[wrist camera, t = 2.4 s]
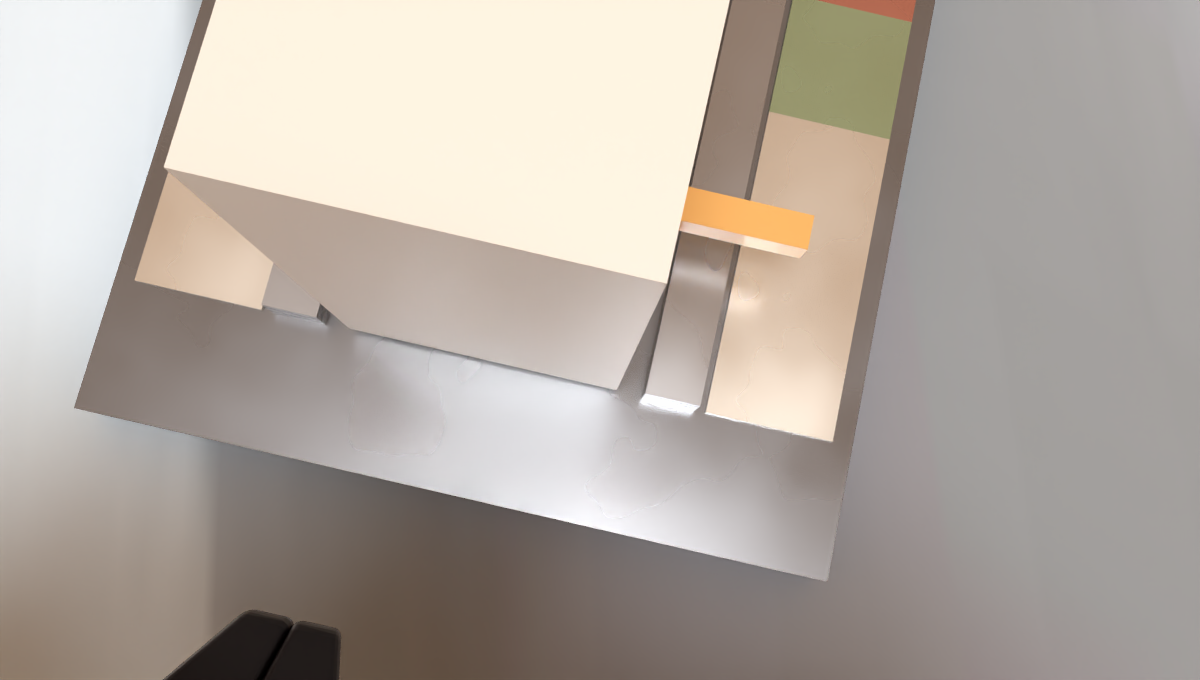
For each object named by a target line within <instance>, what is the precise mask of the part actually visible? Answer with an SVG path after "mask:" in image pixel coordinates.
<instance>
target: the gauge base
mask: <svg viewBox="0 0 1200 680" xmlns="http://www.w3.org/2000/svg"><path fill="white" fill-rule="evenodd" d="M215 2H216V0H203V1H202V4H201V7H200V10H199V14H198V17H197V20H196V23H195V26H194V29H193V33H192V36H191V39H190V42H189V45H188V49H187V52H186V55H185V58H184V61H183V64H182V68H181V71H180V74H179V77H178V80H177V83H176V87H175V90H174V93H173V96H172V99H171V102H170V106H169V109H168V112H167V115H166V118H165V121H164V125H163V128H162V131H161V134H160V137H159V140H158V144H157V147H156V150H155V153H154V156H153V159H152V163H151V166H150V169H149V172H148V175H147V178H146V182H145V185H144V188H143V191H142V194H141V197H140V201H139V204H138V207H137V210H136V213H135V216H134V220H133V223H132V226H131V229H130V232H129V235H128V239H127V242H126V245H125V248H124V251H123V254H122V258H121V261H120V264H119V267H118V270H117V274H116V277H115V280H114V283H113V286H112V289H111V293H110V296H109V299H108V302H107V305H106V308H105V312H104V315H103V318H102V321H101V324H100V327H99V331H98V334H97V337H96V340H95V343H94V346H93V350H92V353H91V356H90V359H89V362H88V365H87V369H86V372H85V375H84V378H83V381H82V384H81V388H80V391H79V394H78V397H77V400H76V403H75V407H74V408H77V409H81V410H85V411H90V412H94V413H98V414H103V415H107V416H111V417H116V418H120V419H124V420H129V421H133V422H137V423H142V424H146V425H150V426H155V427H159V428H163V429H168V430H172V431H176V432H181V433H185V434H189V435H194V436H198V437H202V438H207V439H211V440H215V441H220V442H224V443H228V444H233V445H237V446H241V447H246V448H250V449H254V450H259V451H263V452H267V453H271V454H276V455H280V456H284V457H289V458H293V459H297V460H302V461H306V462H310V463H315V464H319V465H323V466H328V467H332V468H336V469H341V470H345V471H349V472H354V473H358V474H362V475H367V476H371V477H375V478H380V479H384V480H388V481H393V482H397V483H401V484H406V485H410V486H414V487H419V488H423V489H427V490H432V491H436V492H440V493H445V494H449V495H453V496H458V497H462V498H466V499H471V500H475V501H479V502H484V503H488V504H492V505H497V506H501V507H505V508H510V509H514V510H518V511H523V512H527V513H531V514H536V515H540V516H544V517H549V518H553V519H557V520H562V521H566V522H570V523H575V524H579V525H583V526H588V527H592V528H596V529H601V530H605V531H609V532H614V533H618V534H622V535H627V536H631V537H635V538H639V539H644V540H648V541H652V542H657V543H661V544H665V545H670V546H674V547H678V548H683V549H687V550H691V551H696V552H700V553H704V554H709V555H713V556H717V557H722V558H726V559H730V560H735V561H739V562H743V563H748V564H752V565H756V566H761V567H765V568H769V569H774V570H778V571H782V572H787V573H791V574H795V575H800V576H804V577H808V578H813V579H817V580H821V581H826V582H827V581H828V575H829V570H830V565H831V559H832V554H833V549H834V543H835V538H836V532H837V527H838V522H839V516H840V511H841V505H842V500H843V495H844V489H845V484H846V478H847V473H848V468H849V462H850V457H851V451H852V446H853V441H854V435H855V430H856V424H857V419H858V414H859V408H860V403H861V397H862V392H863V387H864V381H865V376H866V370H867V365H868V360H869V354H870V349H871V343H872V338H873V333H874V327H875V322H876V317H877V311H878V306H879V300H880V295H881V290H882V284H883V279H884V273H885V268H886V263H887V257H888V252H889V246H890V241H891V236H892V230H893V225H894V219H895V214H896V209H897V203H898V198H899V192H900V187H901V182H902V176H903V171H904V165H905V160H906V155H907V149H908V144H909V138H910V133H911V128H912V122H913V117H914V112H915V106H916V101H917V95H918V90H919V85H920V79H921V74H922V68H923V63H924V58H925V52H926V47H927V41H928V36H929V31H930V25H931V20H932V14H933V9H934V4H935V0H730V1H729V6H728V10H727V15H726V19H725V24H724V28H723V33H722V37H721V42H720V46H719V51H718V55H717V60H716V64H715V69H714V73H713V78H712V82H711V87H710V91H709V96H708V101H707V105H706V110H705V114H704V119H703V123H702V128H701V132H700V137H699V141H698V146H697V150H696V155H695V159H694V164H693V168H692V173H691V177H690V182H689V187H693V188H697V189H702V190H706V191H710V192H715V193H719V194H723V195H728V196H732V197H736V198H741V199H745V200H749V201H754V202H758V203H762V204H767V205H771V206H775V207H779V208H784V209H788V210H792V211H797V212H801V213H805V214H810V215H814V221H813V226H812V231H811V236H810V241H809V246H808V250H807V251H806V252H805V253H804V254H803V255H802V256H801V257H800V258H795V257H790V256H786V255H782V254H777V253H773V252H769V251H764V250H760V249H756V248H752V247H747V246H743V245H739V244H734V243H730V242H726V241H721V240H717V239H713V238H708V237H704V236H700V235H695V234H691V233H687V232H682V231H678V236H677V240H676V245H675V249H674V254H673V258H672V263H671V267H670V272H669V276H668V281H667V284H666V287H665V289H664V291H663V293H662V295H661V297H660V299H659V301H658V303H657V306H656V308H655V310H654V312H653V314H652V316H651V318H650V320H649V323H648V325H647V327H646V329H645V331H644V333H643V335H642V337H641V340H640V342H639V344H638V346H637V348H636V350H635V352H634V354H633V356H632V359H631V361H630V363H629V365H628V367H627V369H626V371H625V373H624V376H623V378H622V380H621V382H620V384H619V386H618V388H617V390H613V389H608V388H604V387H600V386H595V385H591V384H587V383H582V382H578V381H574V380H569V379H565V378H561V377H556V376H552V375H548V374H543V373H539V372H535V371H530V370H526V369H522V368H517V367H513V366H509V365H504V364H500V363H496V362H491V361H487V360H483V359H479V358H474V357H470V356H466V355H461V354H457V353H453V352H448V351H444V350H440V349H435V348H431V347H427V346H422V345H418V344H414V343H409V342H405V341H401V340H396V339H392V338H388V337H383V336H379V335H375V334H370V333H366V332H362V331H357V330H353V329H349V328H348V327H347V326H346V325H344V324H343V323H342V322H341V321H340V320H339V319H338V318H336V317H335V316H334V315H333V314H332V313H331V312H330V311H328V310H327V309H326V308H325V307H324V306H323V305H321V304H320V303H319V302H318V301H317V300H316V299H315V298H313V297H312V296H311V295H310V294H309V293H308V292H307V291H305V290H304V289H303V288H302V287H301V286H300V285H298V284H297V283H296V282H295V281H294V280H293V279H292V278H290V277H289V276H288V275H287V274H286V273H285V272H284V271H282V270H281V269H280V268H279V267H278V266H277V265H275V264H274V263H273V262H272V261H271V260H270V259H269V258H267V257H266V256H265V255H264V254H263V253H262V252H261V251H259V250H258V249H257V248H256V247H255V246H254V245H252V244H251V243H250V242H249V241H248V240H247V239H246V238H244V237H243V236H242V235H241V234H240V233H239V232H238V231H236V230H235V229H234V228H233V227H232V226H231V225H229V224H228V223H227V222H226V221H225V220H224V219H223V218H221V217H220V216H219V215H218V214H217V213H216V212H214V211H213V210H212V209H211V208H210V207H209V206H208V205H206V204H205V203H204V202H203V201H202V200H201V199H200V198H198V197H197V196H196V195H195V194H194V193H193V192H191V191H190V190H189V189H188V188H187V187H186V186H185V185H183V184H182V183H181V182H180V181H179V180H178V179H177V178H175V177H174V176H173V175H172V174H171V173H170V172H168V171H167V170H166V169H165V168H164V165H165V161H166V158H167V155H168V152H169V149H170V145H171V142H172V139H173V136H174V133H175V129H176V126H177V123H178V120H179V117H180V114H181V110H182V107H183V104H184V101H185V98H186V94H187V91H188V88H189V85H190V82H191V78H192V75H193V72H194V69H195V66H196V62H197V59H198V56H199V53H200V50H201V46H202V43H203V40H204V37H205V34H206V30H207V27H208V24H209V21H210V18H211V15H212V11H213V8H214V5H215Z"/></svg>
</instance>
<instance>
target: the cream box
mask: <svg viewBox="0 0 1200 680" xmlns="http://www.w3.org/2000/svg"><path fill="white" fill-rule="evenodd" d="M729 1H730V0H216V2H215V5H214V8H213V11H212V15H211V18H210V21H209V24H208V27H207V30H206V34H205V37H204V40H203V43H202V46H201V50H200V53H199V56H198V59H197V62H196V66H195V69H194V72H193V75H192V78H191V82H190V85H189V88H188V91H187V94H186V98H185V101H184V104H183V107H182V110H181V114H180V117H179V120H178V123H177V126H176V129H175V133H174V136H173V139H172V142H171V145H170V149H169V152H168V155H167V158H166V161H165V165H164V168H165V169H166V170H167V171H168V172H170V173H171V174H172V175H173V176H174V177H175V178H177V179H178V180H179V181H180V182H181V183H182V184H183V185H185V186H186V187H187V188H188V189H189V190H190V191H191V192H193V193H194V194H195V195H196V196H197V197H198V198H200V199H201V200H202V201H203V202H204V203H205V204H206V205H208V206H209V207H210V208H211V209H212V210H213V211H214V212H216V213H217V214H218V215H219V216H220V217H221V218H223V219H224V220H225V221H226V222H227V223H228V224H229V225H231V226H232V227H233V228H234V229H235V230H236V231H238V232H239V233H240V234H241V235H242V236H243V237H244V238H246V239H247V240H248V241H249V242H250V243H251V244H252V245H254V246H255V247H256V248H257V249H258V250H259V251H261V252H262V253H263V254H264V255H265V256H266V257H267V258H269V259H270V260H271V261H272V262H273V263H274V264H275V265H277V266H278V267H279V268H280V269H281V270H282V271H284V272H285V273H286V274H287V275H288V276H289V277H290V278H292V279H293V280H294V281H295V282H296V283H297V284H298V285H300V286H301V287H302V288H303V289H304V290H305V291H307V292H308V293H309V294H310V295H311V296H312V297H313V298H315V299H316V300H317V301H318V302H319V303H320V304H321V305H323V306H324V307H325V308H326V309H327V310H328V311H330V312H331V313H332V314H333V315H334V316H335V317H336V318H338V319H339V320H340V321H341V322H342V323H343V324H344V325H346V326H347V327H348V328H349V329H353V330H357V331H362V332H366V333H370V334H375V335H379V336H383V337H388V338H392V339H396V340H401V341H405V342H409V343H414V344H418V345H422V346H427V347H431V348H435V349H440V350H444V351H448V352H453V353H457V354H461V355H466V356H470V357H474V358H479V359H483V360H487V361H491V362H496V363H500V364H504V365H509V366H513V367H517V368H522V369H526V370H530V371H535V372H539V373H543V374H548V375H552V376H556V377H561V378H565V379H569V380H574V381H578V382H582V383H587V384H591V385H595V386H600V387H604V388H608V389H613V390H617V388H618V386H619V384H620V382H621V380H622V378H623V376H624V373H625V371H626V369H627V367H628V365H629V363H630V361H631V359H632V356H633V354H634V352H635V350H636V348H637V346H638V344H639V342H640V340H641V337H642V335H643V333H644V331H645V329H646V327H647V325H648V323H649V320H650V318H651V316H652V314H653V312H654V310H655V308H656V306H657V303H658V301H659V299H660V297H661V295H662V293H663V291H664V289H665V287H666V284H667V281H668V276H669V272H670V267H671V263H672V258H673V254H674V249H675V245H676V240H677V236H678V231H682V232H687V233H691V234H695V235H700V236H704V237H708V238H713V239H717V240H721V241H726V242H730V243H734V244H739V245H743V246H747V247H752V248H756V249H760V250H764V251H769V252H773V253H777V254H782V255H786V256H790V257H795V258H800V257H801V256H802V255H803V254H804V253H805V252H806V251H807V250H808V246H809V241H810V236H811V231H812V226H813V221H814V215H810V214H805V213H801V212H797V211H792V210H788V209H784V208H779V207H775V206H771V205H767V204H762V203H758V202H754V201H749V200H745V199H741V198H736V197H732V196H728V195H723V194H719V193H715V192H710V191H706V190H702V189H697V188H693V187H689V182H690V177H691V173H692V168H693V164H694V159H695V155H696V150H697V146H698V141H699V137H700V132H701V128H702V123H703V119H704V114H705V110H706V105H707V101H708V96H709V91H710V87H711V82H712V78H713V73H714V69H715V64H716V60H717V55H718V51H719V46H720V42H721V37H722V33H723V28H724V24H725V19H726V15H727V10H728V6H729Z"/></svg>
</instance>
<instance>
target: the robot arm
mask: <svg viewBox="0 0 1200 680" xmlns="http://www.w3.org/2000/svg"><path fill="white" fill-rule="evenodd" d="M340 648H341V634H340V632H339V630H337V629H336V628H332V627H328V626H324V625H319V624H315V623H311V622H306V621H300V622H297V623H295V624H294V623H293V621H292V620H291V619H290V618H288V617H285V616H280V615H276V614H271V613H267V612H263V611H258V610H249V611H246V612H244V613H242V614H241V615H240V616H238V617H237V618H236V619H235V620H233V621H232V622H231V623H230V624H229V625H227V626H226V627H225V628H224V629H223V630H221V631H220V632H219V633H218V634H217V635H215V636H214V637H213V638H212V639H211V640H210V641H208V642H207V643H206V644H205V645H204V646H202V647H201V648H200V649H199V650H198V651H196V652H195V653H194V654H193V655H192V656H191V657H189V658H188V659H187V660H186V661H185V662H183V663H182V664H181V665H180V666H179V667H177V668H176V669H175V670H174V671H173V672H171V673H170V674H169V675H168V676H167V677H166V678H164V679H163V680H339V669H340Z"/></svg>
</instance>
